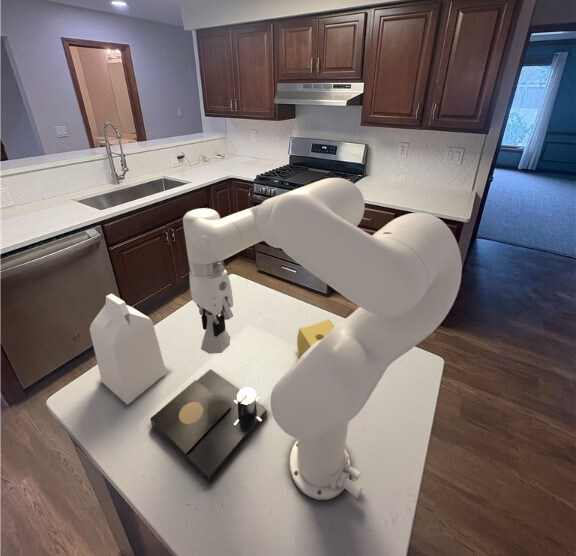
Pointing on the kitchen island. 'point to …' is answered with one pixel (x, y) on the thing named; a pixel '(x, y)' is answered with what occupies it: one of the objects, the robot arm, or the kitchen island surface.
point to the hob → (220, 430)
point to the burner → (190, 416)
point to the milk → (126, 349)
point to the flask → (214, 338)
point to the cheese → (312, 335)
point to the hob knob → (246, 403)
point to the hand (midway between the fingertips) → (214, 329)
